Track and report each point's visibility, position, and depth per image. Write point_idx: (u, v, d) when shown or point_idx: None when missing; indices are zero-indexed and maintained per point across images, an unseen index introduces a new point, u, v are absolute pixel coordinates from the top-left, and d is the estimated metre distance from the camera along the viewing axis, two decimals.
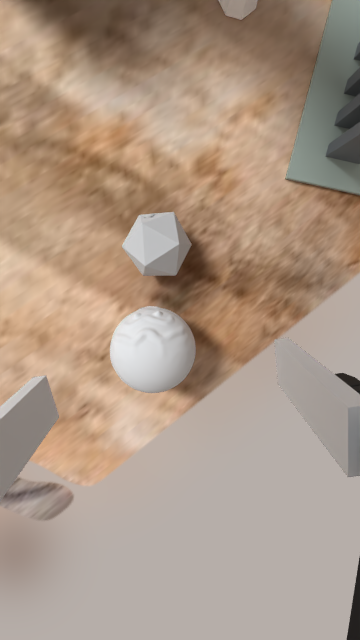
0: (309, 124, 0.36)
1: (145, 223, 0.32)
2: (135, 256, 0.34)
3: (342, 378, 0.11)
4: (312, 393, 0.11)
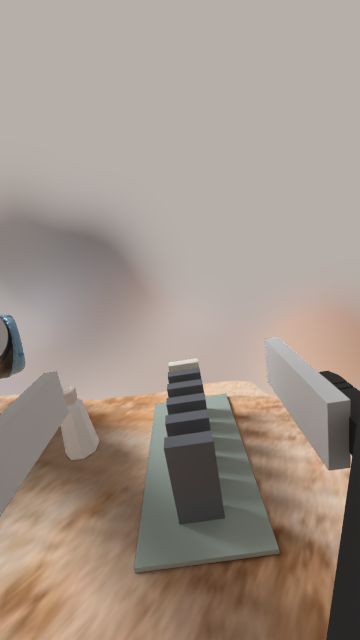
0: (151, 501, 0.32)
1: None
2: None
3: (326, 376, 0.11)
4: (297, 390, 0.11)
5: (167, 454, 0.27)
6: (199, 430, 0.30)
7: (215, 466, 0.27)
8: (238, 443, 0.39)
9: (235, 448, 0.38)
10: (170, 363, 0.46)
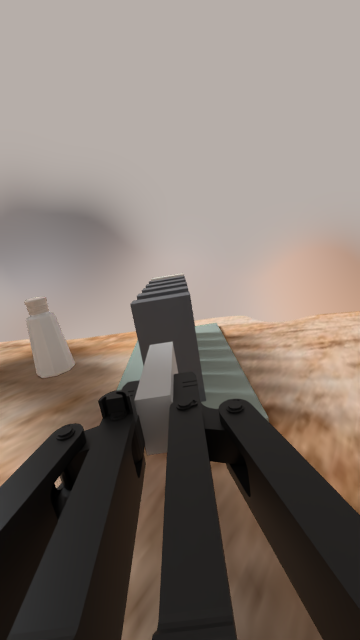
0: None
1: None
2: None
3: (186, 375, 0.14)
4: None
5: (135, 312, 0.22)
6: None
7: (193, 329, 0.23)
8: (227, 351, 0.35)
9: (223, 354, 0.34)
10: (153, 278, 0.42)
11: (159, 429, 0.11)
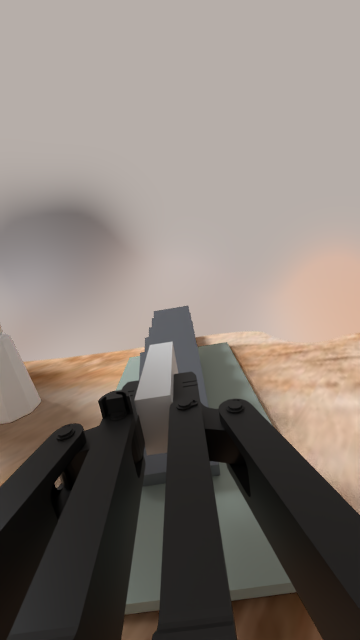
0: None
1: None
2: None
3: (187, 375, 0.14)
4: None
5: (142, 358, 0.23)
6: (182, 342, 0.26)
7: (199, 371, 0.21)
8: (247, 392, 0.25)
9: None
10: None
11: (159, 428, 0.11)
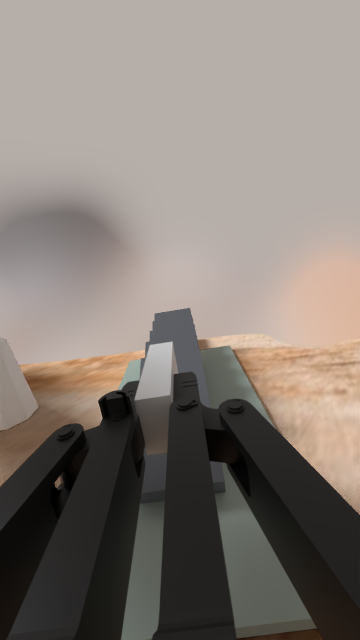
0: None
1: None
2: None
3: (187, 375, 0.14)
4: None
5: (143, 365, 0.22)
6: (184, 347, 0.25)
7: (202, 379, 0.20)
8: (252, 400, 0.24)
9: None
10: None
11: (159, 428, 0.11)
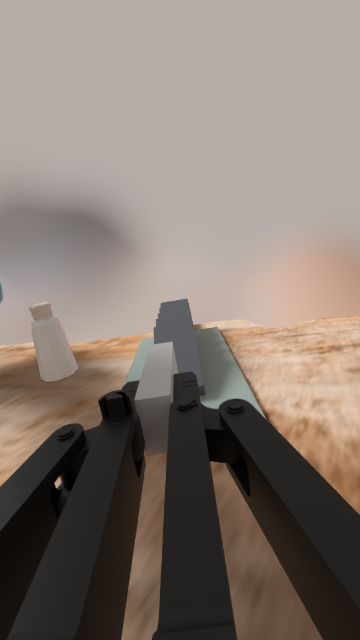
0: None
1: None
2: None
3: (187, 375, 0.14)
4: None
5: (155, 330, 0.34)
6: (182, 321, 0.37)
7: (193, 337, 0.32)
8: (227, 356, 0.35)
9: (224, 359, 0.35)
10: None
11: (159, 429, 0.11)
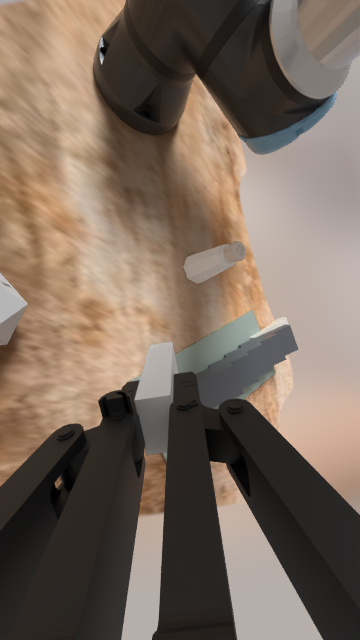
0: None
1: None
2: None
3: (186, 375, 0.14)
4: None
5: (229, 368, 0.42)
6: (248, 377, 0.44)
7: None
8: None
9: None
10: None
11: (159, 428, 0.11)
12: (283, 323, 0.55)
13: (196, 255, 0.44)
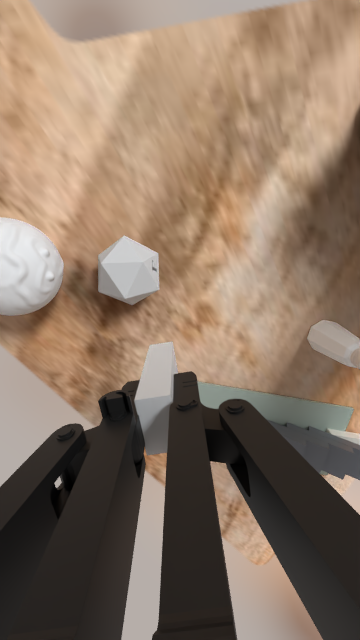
0: (232, 395, 0.45)
1: (143, 265, 0.32)
2: (112, 252, 0.33)
3: (187, 375, 0.14)
4: None
5: None
6: None
7: None
8: None
9: None
10: None
11: (159, 429, 0.11)
12: None
13: (330, 327, 0.39)
